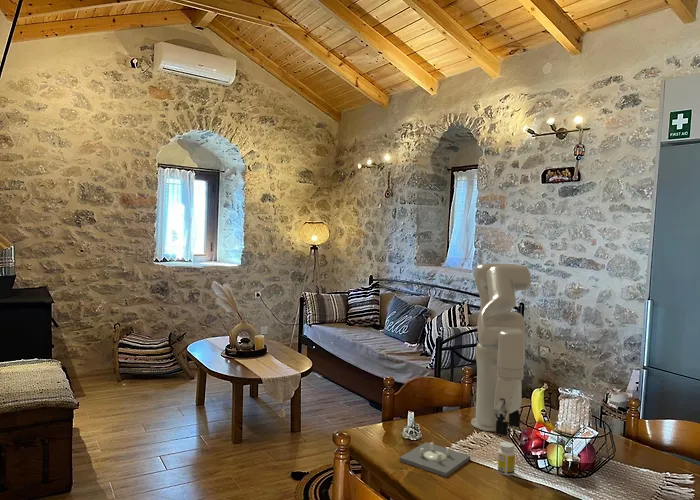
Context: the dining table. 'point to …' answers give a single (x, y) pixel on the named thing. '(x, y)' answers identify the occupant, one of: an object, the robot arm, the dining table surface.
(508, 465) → the supplement bottle
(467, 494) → the dining table surface
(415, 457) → the pin tray
